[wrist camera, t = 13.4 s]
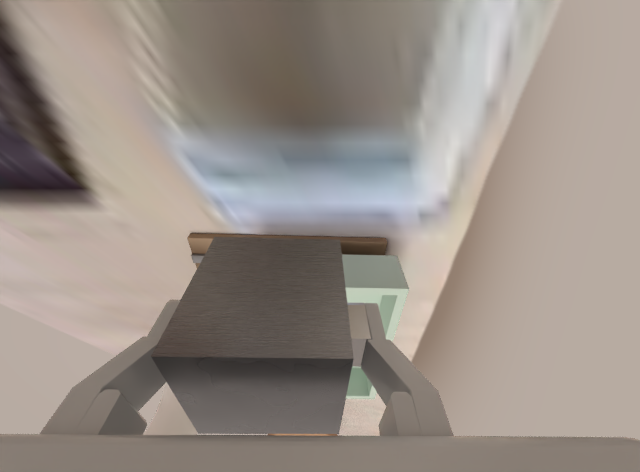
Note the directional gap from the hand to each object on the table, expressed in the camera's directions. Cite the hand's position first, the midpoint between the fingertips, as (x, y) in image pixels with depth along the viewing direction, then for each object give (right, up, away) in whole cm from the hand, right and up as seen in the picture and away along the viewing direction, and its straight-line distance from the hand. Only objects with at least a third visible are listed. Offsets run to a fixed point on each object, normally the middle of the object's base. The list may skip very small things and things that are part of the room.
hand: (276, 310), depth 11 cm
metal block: (0, +1, +1) cm, 2 cm away
